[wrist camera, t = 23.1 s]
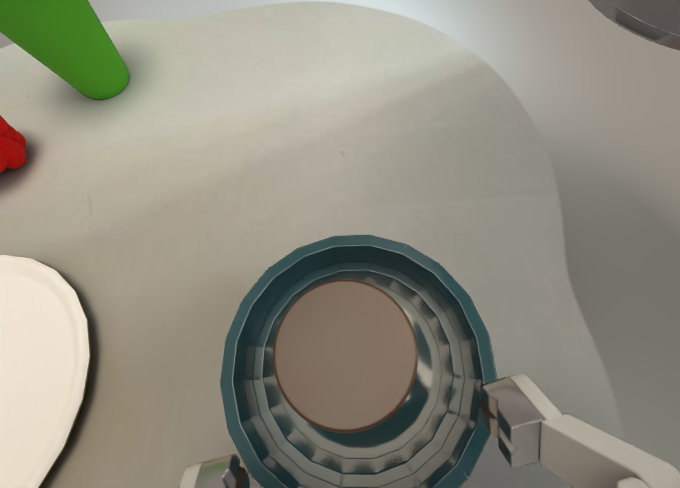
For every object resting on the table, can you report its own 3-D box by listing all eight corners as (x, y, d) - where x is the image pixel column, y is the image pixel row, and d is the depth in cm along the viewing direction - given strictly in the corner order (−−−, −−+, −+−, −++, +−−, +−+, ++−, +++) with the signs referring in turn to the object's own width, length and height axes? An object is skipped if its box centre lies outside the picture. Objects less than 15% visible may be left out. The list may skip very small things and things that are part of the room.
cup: (71, 128, 32) (-69, 13, 21) (60, 71, 35) (-65, -52, 25) (156, 93, 32) (61, -33, 22) (138, 42, 36) (48, -89, 26)
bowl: (409, 245, 24) (424, 204, 18) (496, 435, 19) (555, 465, 13) (243, 302, 24) (202, 279, 18) (288, 514, 19) (252, 584, 13)
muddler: (378, 315, 22) (403, 221, 8) (405, 387, 20) (500, 431, 6) (313, 338, 22) (218, 284, 8) (334, 413, 20) (262, 521, 6)
